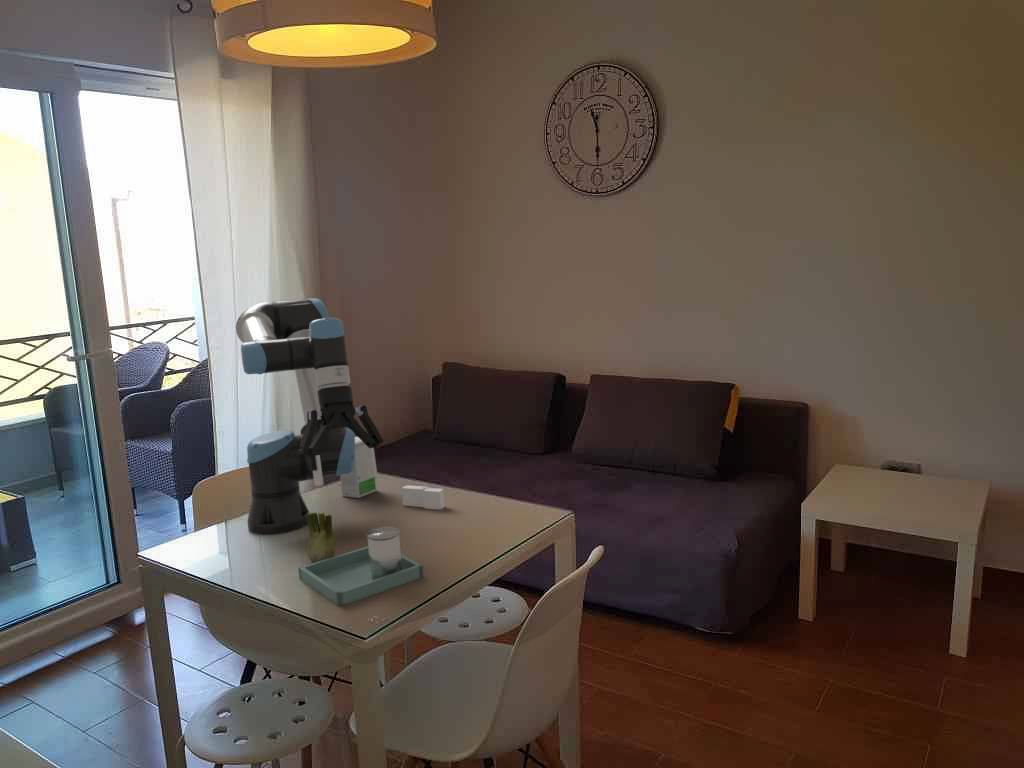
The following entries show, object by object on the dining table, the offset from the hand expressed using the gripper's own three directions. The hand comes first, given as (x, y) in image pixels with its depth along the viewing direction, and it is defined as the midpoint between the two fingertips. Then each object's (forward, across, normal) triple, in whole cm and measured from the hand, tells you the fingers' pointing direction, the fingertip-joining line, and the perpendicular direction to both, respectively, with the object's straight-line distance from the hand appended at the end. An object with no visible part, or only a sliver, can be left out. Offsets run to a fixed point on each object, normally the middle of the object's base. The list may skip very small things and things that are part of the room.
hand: (346, 481), depth 183 cm
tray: (+21, -6, -11) cm, 24 cm away
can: (+21, -3, -16) cm, 26 cm away
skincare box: (+5, +26, +41) cm, 49 cm away
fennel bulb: (+18, -7, +3) cm, 19 cm away
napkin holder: (+11, +31, +18) cm, 37 cm away
